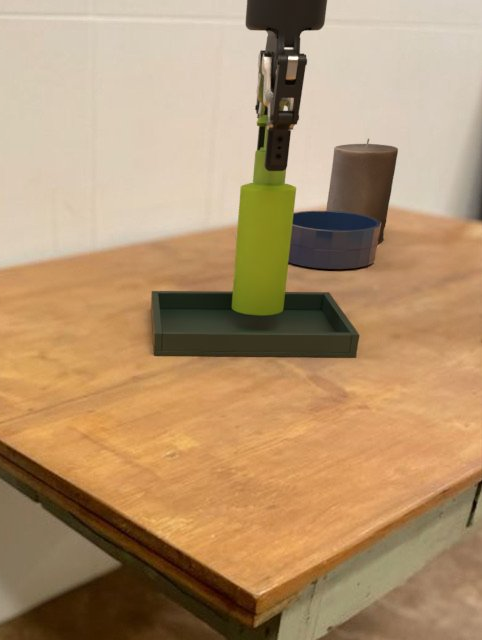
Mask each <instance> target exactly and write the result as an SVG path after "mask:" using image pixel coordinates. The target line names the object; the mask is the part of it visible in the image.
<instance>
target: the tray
mask: <svg viewBox="0 0 482 640" xmlns="http://www.w3.org/2000/svg"><path fill="white" fill-rule="evenodd" d="M150 292H151V295H150V296H151V297H150V298H151V299H150V316H151V317H150V318H151V331H152V345H153V355H154V356H157V357H158V356H161V357H162V356H165V357H166V356H167V357H168V356H173V357H179V356H180V357H268V358H269V357H270V358H271V357H272V358H274V357H276V358H277V357H278V358H284V357H285V358H357V353H358V348H359V342H360V334H359V332H358V330H357V329H356V328H355V326H354V325H353V323H352V322H351V321H350V320H349V318H348V317H347V315H346V314H345V313H344V311H343V309H342V308H341V307H340V306H339V304H338V303H337V301H336V299H334V297H333V295H332V294H331V292H328V291H323V292H322V291H285V299H284V308H283V311H282V312H281V313H278V314H274V315H248V314H243V313H239V312H236V311H234V310H233V309H232V296H233V291H227V290H226V291H218V290H216V291H215V290H214V291H211V290H210V291H208V290H207V291H205V290H204V291H203V290H191V291H190V290H151V291H150Z"/></svg>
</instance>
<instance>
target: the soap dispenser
mask: <svg viewBox="0 0 482 640" xmlns="http://www.w3.org/2000/svg"><path fill="white" fill-rule="evenodd" d="M267 120H268V115H263V116H261V117H260V118H259V119H258V118H257V120H256V126H257V127H259V126H266V128H265V139H264V147H261V148H260V150H257V149H256V150H255V152H254V161H253V162H254V164H253V174H252V175H253V176H252V182H249V183H245V184H243V185H241V186H240V190H239V191H240V192H239V203H238V204H239V205H238V216H237V217H238V218H237V228H236V230H237V231H236V242H235V243H236V244H235V257H234V271H233V282H232V283H233V284H232V292H233V296H232V309H233V310H234V311H236V312H239V313H243V314H248V315H274V314H278V313H281V312H282V311H283V308H284V299H285V292H286V288H287V281H288V280H287V278H288V269H289V262H288V261H289V252H290V242H291V233H292V224H293V214H294V213H295V204H296V195H297V187H296V186H294V185H292V184H288V183H286V175H287V168H286V169H285V170H284V171H268V170H266V168H265V167H264V163H265V152H266V142H267V131H268V129H267V125H266V124H267Z"/></svg>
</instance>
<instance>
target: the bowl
mask: <svg viewBox="0 0 482 640" xmlns="http://www.w3.org/2000/svg"><path fill="white" fill-rule="evenodd" d="M380 227H381V222H380V221H379V220H377V219H375V218H373V217H370V216H366V215H361V214H357V213H349V212H340V211H326V210H303V211H294V214H293V224H292V233H291V242H290V252H289V261H288V264H289V263H290V264H293V265H296V266H301V267H304V268H311V269H318V270H319V269H320V270H348V269H349V270H350V269H359V268H362V267H368V266H369V265H372V264H374V263H375V260H376V256H377V249H378V244H379V243H378V238H379V233H380Z"/></svg>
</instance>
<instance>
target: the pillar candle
mask: <svg viewBox="0 0 482 640" xmlns="http://www.w3.org/2000/svg"><path fill="white" fill-rule="evenodd" d="M369 142H370V138H367V141H366V143H349V144H348V143H347V144H340V145H336V146H335V147H334V148H333V158H332V165H331V173H330V180H329V188H328V195H327V202H326V210H325V211H340V212H349V213H357V214H361V215H366V216H370V217H373V218H375V219H377V220H379V221H380V222H381V227H380V233H379V238H378V244H380V243H382V242H383V241H384V237H385V236H384V234H385V228H386V224H387V217H388V211H389V206H390V200H391V195H392V187H393V182H394V177H395V172H396V166H397V159H398V153H399V148H398V147H396V146H393V145H388V144H377V143H369Z"/></svg>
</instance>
